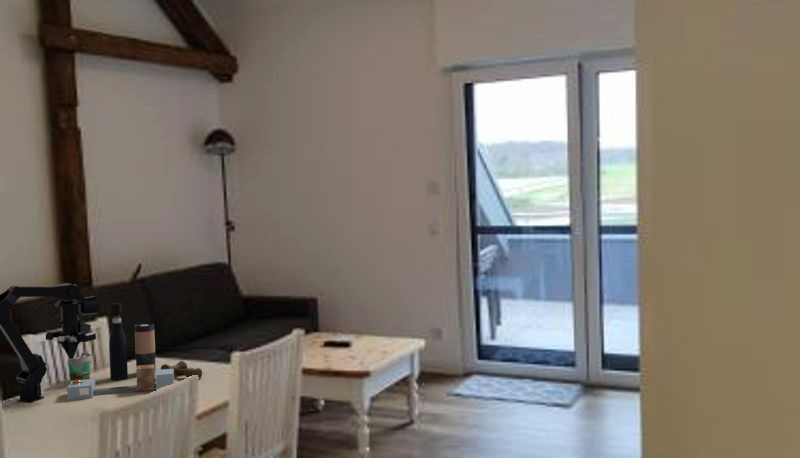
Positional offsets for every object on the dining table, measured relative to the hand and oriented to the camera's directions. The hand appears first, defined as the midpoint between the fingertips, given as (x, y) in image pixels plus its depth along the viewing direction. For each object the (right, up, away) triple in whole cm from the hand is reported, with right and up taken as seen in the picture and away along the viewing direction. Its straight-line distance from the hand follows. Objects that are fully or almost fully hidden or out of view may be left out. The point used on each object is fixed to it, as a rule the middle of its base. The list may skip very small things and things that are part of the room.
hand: (71, 358), depth 268 cm
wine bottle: (+11, -11, +17) cm, 23 cm away
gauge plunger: (+5, -12, -6) cm, 14 cm away
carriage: (+28, -12, 0) cm, 30 cm away
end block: (+34, -11, +2) cm, 36 cm away
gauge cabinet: (+6, -12, -6) cm, 15 cm away
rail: (+21, -12, -2) cm, 24 cm away
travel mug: (+19, -11, +25) cm, 33 cm away
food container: (-2, -12, +14) cm, 18 cm away
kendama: (+35, -11, +17) cm, 41 cm away
